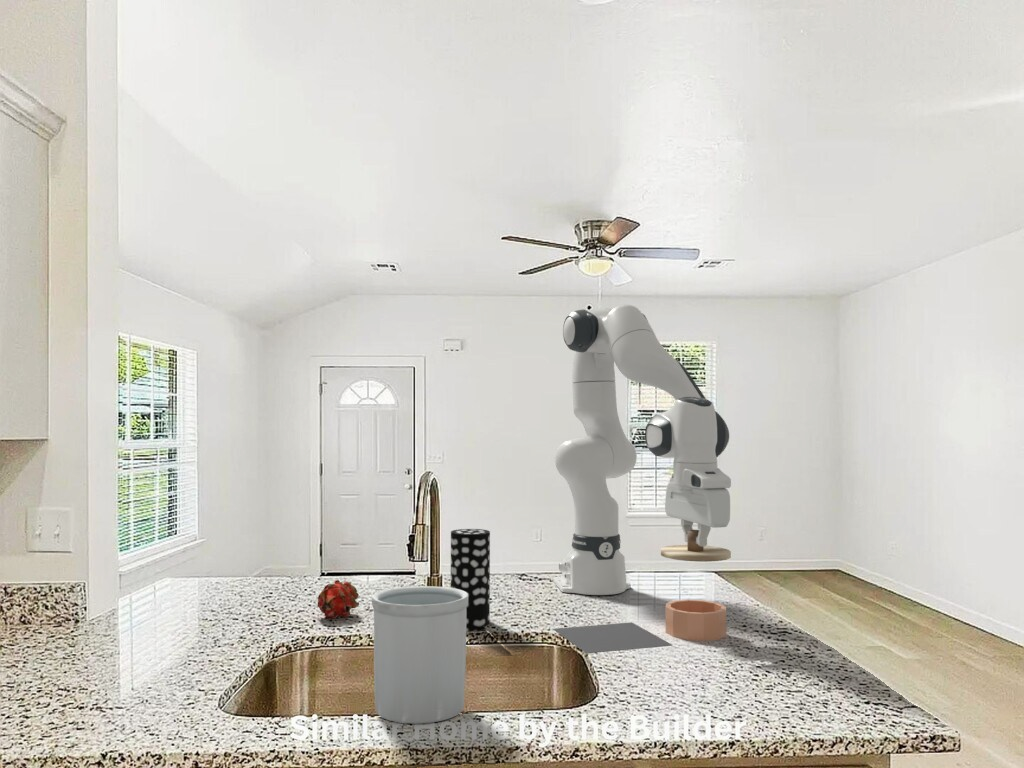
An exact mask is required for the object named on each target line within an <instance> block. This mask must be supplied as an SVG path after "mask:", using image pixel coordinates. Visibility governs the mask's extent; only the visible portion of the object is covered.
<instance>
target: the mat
mask: <svg viewBox="0 0 1024 768" xmlns="http://www.w3.org/2000/svg"><path fill="white" fill-rule="evenodd" d="M552 630H553V631H554V632H556V633H558V635H560V636H561V637H563V638H564V639H565V640H567V641H569V642H570V643H571V644H573V645H574V646H575V647H577V648H579V650H581V651H583V653H585V654H593V653H605V652H614V651H616V652H617V651H627V650H637V649H649V648H650V649H651V648H659V647H660V648H661V647H670V646H671V647H672V646H673V644H672V643H670V642H668V641H666V640H665V639H662V638H661V637H659V636H657V635H655V634H654V633H652V632H650V631H648V630H646V629H645V628H643V627H641V626H640V625H638V624H636V623H634V622H632V621H631V622H621V623H611V624H610V623H607V624H597V625H596V624H595V625H584V626H582V625H581V626H573V627H572V626H570V627H560V628H559V627H558V628H552Z"/></svg>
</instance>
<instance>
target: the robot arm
mask: <svg viewBox="0 0 1024 768" xmlns="http://www.w3.org/2000/svg"><path fill="white" fill-rule="evenodd" d="M562 336H563V337H562V338H563V340H564V343H565V345H566V346H567V348H568V349H569V350H571V351H574V354H573V361H572V374H571V376H572V377H571V378H572V380H571V381H572V407H573V410H572V411H573V414H574V415H575V417H576V418H577V419H578V420H579V421H580V422H581V424H582V426H583V428H584V431H585V434H586V436H582V437H581V436H580V437H575V438H572V439H569V440H566V441H563V442H562V443H561V444H560V445H559V446H558V447H557V449H556V452H555V457H554V459H555V460H554V462H555V467H556V470H557V471H558V473H559V474H560V475H561V476H562V477H563V478H564V480H565V481H566V482H567V485H568V487H569V489H570V493H571V494H572V495H571V496H572V500H573V505H574V533H573V534H572V541H571V549H570V551H569V552H568V553H567V554H566V555H565V557H564V558H563V559H562V562H559V563H558V571H559V573H560V572H561V575H558V576H555V577H553V579H552V581H553V583H554V584H555V586H557V588H558V589H559V590H560V591H561V593H562V592H563V593H569V594H572V593H573V594H579V595H587V596H588V595H589V596H590V595H591V596H609V595H611V596H612V595H617V594H621V593H624V592H625V591H626V590H628V589H630V588H632V586H631V583H630V582H628V581H627V573H626V559H625V555H624V554H622V552H621V550H620V549H621V535H620V534H619V504H618V501H617V500H616V499H615V498H614V497H612V496H611V494H610V492H609V488H608V485H607V480H608V479H616V478H619V477H623V476H624V475H626V474H628V473H630V472H631V471H632V470H634V468H635V466H636V463H637V457H638V456H637V451H636V448H635V446H634V445H633V443H632V442H631V441H630V440H629V439H628V438H627V436H626V434H625V432H624V430H623V427H622V424H621V422H620V421H621V420H620V418H619V414H618V407H617V406H618V405H617V404H618V403H617V392H616V391H617V389H616V373H615V365H616V367H617V369H618V371H619V372H620V373H621V374H622V375H623V376H624V377H625V378H627V379H628V380H630V381H632V382H636V383H638V384H643V385H647V386H650V387H654V388H657V389H660V390H662V391H664V392H666V393H668V394H669V395H670V396H672V397H673V399H675V402H674V404H673V406H672V407H670V408H669V409H667V410H666V411H663V412H661V413H658V414H655V415H653V416H651V418H650V420H648V422H647V423H646V427H645V430H644V438H645V440H644V441H645V444H646V447H647V448H648V450H649V452H651V454H653V456H655V457H660V458H664V459H668V458H669V459H670V458H673V474H672V476H671V477H670V478H669V482H668V484H667V485H666V490H665V498H664V499H665V501H664V511H665V514H666V516H667V517H671V518H674V519H678V520H680V526H681V528H682V531H683V535H684V538H683V539H684V540H683V541H684V542H686V543H687V530H694V528H693V525H694V523H695V524H697V530H699V533H698V537H696V545H698V546H708V537H709V534H710V532H711V529H712V528H715V529H716V528H727V527H728V525H729V523H730V520H731V496H730V495H731V494H730V491H729V490H728V489H730V488H731V487H732V479H731V477H730V476H729V475H728V474H726V473H725V472H723V471H722V470H721V468H720V467H719V468H718V457H719V456H721V454H722V453H723V452H724V451H725V449H726V448H727V446H728V444H729V442H730V441H729V440H730V429H729V427H728V425H727V423H726V421H725V419H724V418H723V417H722V416H721V415H720V413H718V412H717V411H716V409H715V406H714V403H713V402H712V401H711V400H709V399H707V398H706V396H705V395H704V394H703V391H702V390H701V389H700V388H699V386H698V385H697V383H696V382H695V380H694V379H693V377H692V376H691V374H690V373H689V371H688V370H687V369H686V367H685V366H684V364H682V363H681V362H680V361H678V360H677V359H676V358H675V357H674V356H672V355H671V354H670V353H669V352H668V351H667V350H666V349H665V348H664V346H663V345H662V344H661V343H660V341H659V339H658V338H657V336H656V333H655V332H654V329H653V328H652V326H651V324H650V322H649V320H648V318H647V317H646V315H645V314H644V313H642V312H641V310H640V309H639V308H638V307H636V306H635V305H631V304H622V305H618V306H616V307H614V308H609V307H608V308H601V309H600V308H599V309H597V308H595V309H588V310H587V309H578V310H574V311H571V312H569V313H568V315H567V316H566V317H565V320H564V322H563V327H562Z"/></svg>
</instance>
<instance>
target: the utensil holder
mask: <svg viewBox="0 0 1024 768" xmlns="http://www.w3.org/2000/svg"><path fill="white" fill-rule="evenodd" d="M371 605H372V608H373V670H374V671H373V672H374V675H373V677H374V679H373V680H374V681H373V682H374V707H375V708H374V709H375V712H376V715H378V716H379V717H380V718H382V719H384V720H388V721H391V722H396V723H400V724H412V725H413V724H429V723H430V724H431V723H437V722H442V721H446V720H449V719H452V718H455V717H456V716H458V715H459V714H460V713H461V712H463V710H464V709H465V707H464V706H465V691H466V690H465V688H466V669H467V668H466V667H467V663H466V662H467V658H466V653H467V650H466V649H467V631H466V607H467V605H468V593H467V592H465V591H463V590H460V589H455V588H451V587H448V586H447V587H446V586H433V585H432V586H431V585H427V586H426V585H424V586H419V585H417V586H416V585H415V586H401V587H393V588H386V589H383V590H380V591H377V592H375V593H374V594H372V597H371Z"/></svg>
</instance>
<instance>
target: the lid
mask: <svg viewBox="0 0 1024 768" xmlns="http://www.w3.org/2000/svg"><path fill="white" fill-rule="evenodd" d="M698 533H699V529H693V530H687V542H686V544H677V545H668V546H663V547H662V548H660V556H661V557H664V558H667V559H671V560H676V561H685V562H697V563H698V562H699V563H700V562H701V563H702V562H706V563H707V562H709V563H710V562H720V561H726V560H729V559H731V557H732V551H731V550H729V549H728V548H724V547H720V546H719V547H718V546H712V545H706V546H698V545H696V537H698Z"/></svg>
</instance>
